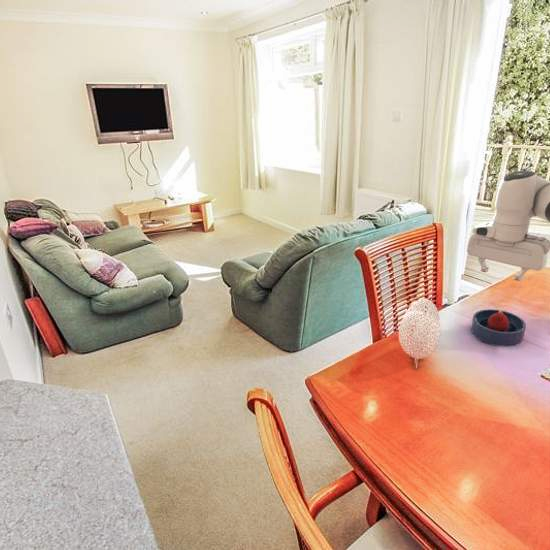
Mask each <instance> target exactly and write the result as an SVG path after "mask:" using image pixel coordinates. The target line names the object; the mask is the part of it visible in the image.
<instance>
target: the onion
mask: <svg viewBox="0 0 550 550" xmlns="http://www.w3.org/2000/svg"><path fill="white" fill-rule="evenodd" d="M503 311H504V310H501V311H499V312H498V313H495V314H493V315H491V316H490V317H489V319H488V327H489V328H490V329H491V330H494V331H499V332H504V331H506V330H507V329H508V327H509V320H508V318H507V316H505V315H504V314H503Z"/></svg>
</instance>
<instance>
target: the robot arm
mask: <svg viewBox="0 0 550 550" xmlns="http://www.w3.org/2000/svg"><path fill="white" fill-rule="evenodd" d="M494 207H495V213H494V215H493V218H492V221H486V222H482V223H480V224H478V225H476V226H474V227H473V228H472V234H471V236H470V237H469V239H468V243H467V248H466V253H467V254H468V256H471V257H475V258H477V259H478V260H477V262H478V263H479V265H480V272H481V273H488V272H489V268H490V265H487V264H486V261H485V260H488V261H492V262H496V263H501V264H506V265H509V266H514V267H517V268H518V267H519V268H520V271H521V272H517V273H516V274H515V276H514V281H518V282H522V281H523V279H524V275H525V274H526V273H527V272H529V271H530V270H531V271H535V272H539V271H541V270H543V269H544V268H545V267H546V266H547V261H548V253H549V252H550V240H549V239H547V238H546V237H545V236H539V235H536V234H535V235H534V234H530V233H529V234H528V232H529V228H530V222H531V219H532V218H534V217H535V218H536V217H537V218H539V219H541V220H543V221H546V222H549V223H550V180H548V179H545V178H544V177H541V176H539V175H538V174H537V173H536V172H535V171H533V170H517V171H513V172H510V173H508V174H506V175H504V176H503V178H502V179H501V181H500V182H499V186H498V190H497V193H496V198H495V204H494Z"/></svg>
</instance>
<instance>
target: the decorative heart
mask: <svg viewBox="0 0 550 550" xmlns="http://www.w3.org/2000/svg"><path fill="white" fill-rule="evenodd" d="M402 317H403V318H402V320H401V322H400V324H399V327H398V340H399V344H400V346H401V348H402V350H403V351H404V353H405V354H407V356H409V357H411V358H413V359H414V364H415V369H417V368H418V360H421V359H425V358H427V357H429V356H430V355H432V353H433V352H434V351H435V350H436V348H437V346H438V344H439V340H440V335H441V318H440V313H439V310H438V308H437V306H436V304H434V302H432V300H429V299H427V298H420V299H417V300H416V301H414V302H413V303H412V304H411V305H410V306H409V307H408V308H407V310H406V311H405V313H404V315H403V316H402Z"/></svg>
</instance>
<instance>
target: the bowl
mask: <svg viewBox="0 0 550 550" xmlns="http://www.w3.org/2000/svg"><path fill="white" fill-rule="evenodd" d="M499 311H503V314H504V315H505V316H507V318H508V320H509V327H508V329H507V330H506V331H504V332H499V331H494V330H491V329H490V328H489V327H488V319H489V317H490V316H491V315H493V314H495V313H498V312H499ZM471 321H472V322H471V327H470V330H471V333H472V335H473V336H474V337H475V338H477V339H479V340H480V341H482V342H483V343H484V342H485V343H486V344H490V345H494V346H500V347H513V346H517V345H520V344H521V343H522V342H523V341H524V337H525V332H526V329H527V323H526V322H525V321H524V319H523V318H521V317H520V316H519V315H516V314H514V313H512V312H509V311H506V310H501V309H491V308H488V309H481V310H478V311H476V312H475V313H473V316H472V320H471Z"/></svg>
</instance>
